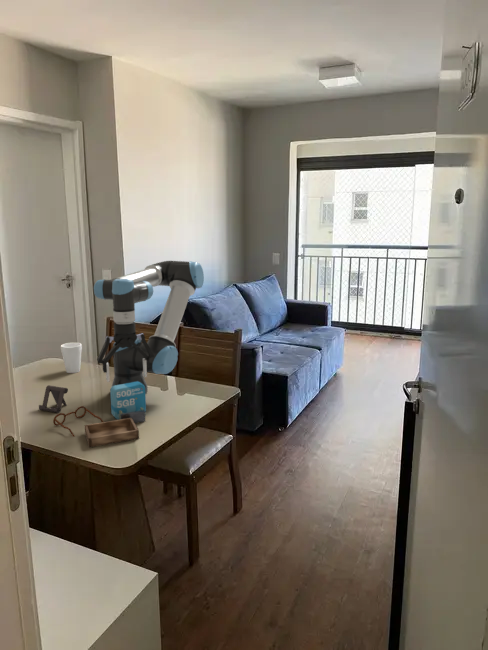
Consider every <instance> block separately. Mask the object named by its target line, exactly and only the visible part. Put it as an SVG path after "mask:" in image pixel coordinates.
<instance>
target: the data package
mask: <svg viewBox="0 0 488 650" xmlns="http://www.w3.org/2000/svg"><path fill="white" fill-rule="evenodd" d="M109 391H110V394H109V395H110V408H111V409H110V410H111V411H110V412H111V415H112V416H113V417H114V418H115V420H119V411H120V410H121V411H122V413H128V412H135V411H140V407H143V409H144V410H145V413H146V411H147V404H146V403H147V402H146V401H147V400H146V398H147V397H146V394H145V386H144V385H143V384H142V383H140V382H138V381H137V382H131V383H126V384H120V385H115V386H112V385H111V387H110V390H109Z"/></svg>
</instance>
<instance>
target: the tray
mask: <svg viewBox="0 0 488 650" xmlns="http://www.w3.org/2000/svg"><path fill="white" fill-rule="evenodd" d="M139 431H140V430H139V428H138V427H137V424H136V423H134V421H133V419H132V418H126V419H120V420H118V419H115V420H108V421H104V422H101V421H100V422H96V423H90V424H89V423H88V424H85V425H84V435H85V437H86V442H87V445H88V448H89V449H90V448H94V447H100V446H101V447H102V446H105V445H106V446H107V445H112V444H116V443H117V444H118V443H123V442H128V441H134V439H135V440H139V439H140V433H139ZM138 438H139V439H138Z"/></svg>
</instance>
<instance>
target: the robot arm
mask: <svg viewBox="0 0 488 650" xmlns="http://www.w3.org/2000/svg"><path fill="white" fill-rule="evenodd" d="M204 280H205V275H204V270H203V267H202V264H200V263H199V262H197V261H190V260H189V261H184V260H183V261H181V260H164V261H163V260H162V261H160V262H156V263H153V264H149V265H147V266H146V267H144V269H141V270H138V271H134V272H132V273H131V272H130V273H129V274H125V275H122V276H118V277H114V278H111V279H98V280H97V281H96V282H95V283H94V285H93V293H94V296H95V297H96V298H97V299H100V300H103V301H104V300H105V301H106V300H108V301H112V305H113V306H112V307H113V308H112V312H113V313H112V314H113V322H114V323H113V334H114V335H113V336H109V335H106V336H105V337H104V344H103V345H102V348H101V350H100V351H99V352H100V353H98V357H97V358H96V361H97V363H98V364H102V371H103V373H105V376H106V377H105V381H106V382H107V383H109V382H110V363H109V361H110V359H111V358H112V357H113V370H114V371H113V373H114V377H113V380H112V383H111V387H112V386H115V385H120V384H126V383H131V382H137V381H138V382H140V383H142V384H143V385H144V386H145V395H146V394H148V384H147V381H146V380H145V378H148V373H151V374H156V375H160V374H161V375H167V374H169V373H171V372H172V371H173V369H175V368H176V365H177V362H178V356H179V352H178V348H176V347H177V345H176V343H175V339H176V337H177V334H178V331H179V328H180V325H181V322H182V319H183V316H184V314H185V310H186V309H187V305H188V302H189V299H190V296H193V295H194V294H195V293H196V289H201V288H203V286H204V283H205V282H204ZM157 286H158V287H159V286H162V287H163V286H165V287H169V288H170V292H169V294H168V297H167V300H166V303H165V305H164V308H163V309H162V313H161V315H160V318H159V321H158V324H157V327H156V329H155V332H154V334H153V335H151V336H149V337H148V339H147V341H146V336H145V334H144V333H143V332H140V333H139V334H136V322H135V321H136V313H135V312H136V309H135V304H137V303H141V302H146V301H148V300H150V299H151V298H152V297H153V295H154V288H153V287H157ZM112 341H113V342H114V343H113V345H112V347H111V349H110V350H109V351H108V348H109V347H110V344H111V343H112ZM107 351H108V353H107ZM106 353H107V354H106Z"/></svg>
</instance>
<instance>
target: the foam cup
mask: <svg viewBox="0 0 488 650" xmlns="http://www.w3.org/2000/svg"><path fill="white" fill-rule="evenodd" d="M82 350H83V345H82V343H81V342H66V343H63V344H61V345H60V352H61V355H62V358H63V363H64V368H65V373H68V374H75V373H79V372H80V371H81V365H82V364H81V363H82V362H81V361H82Z"/></svg>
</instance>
